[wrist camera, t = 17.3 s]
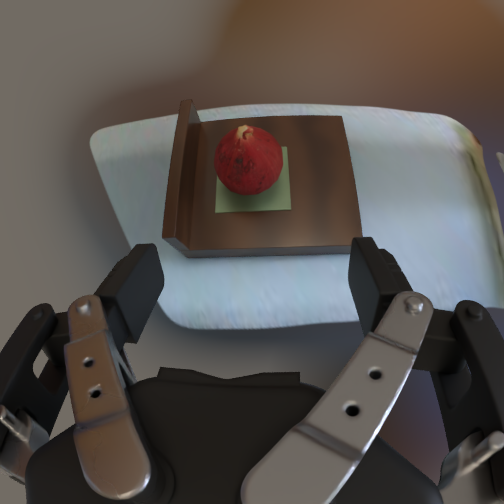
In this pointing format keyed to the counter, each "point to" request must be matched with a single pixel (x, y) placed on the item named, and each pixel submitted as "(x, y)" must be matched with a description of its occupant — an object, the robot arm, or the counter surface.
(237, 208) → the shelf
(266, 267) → the counter surface
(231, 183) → the red pomegranate
